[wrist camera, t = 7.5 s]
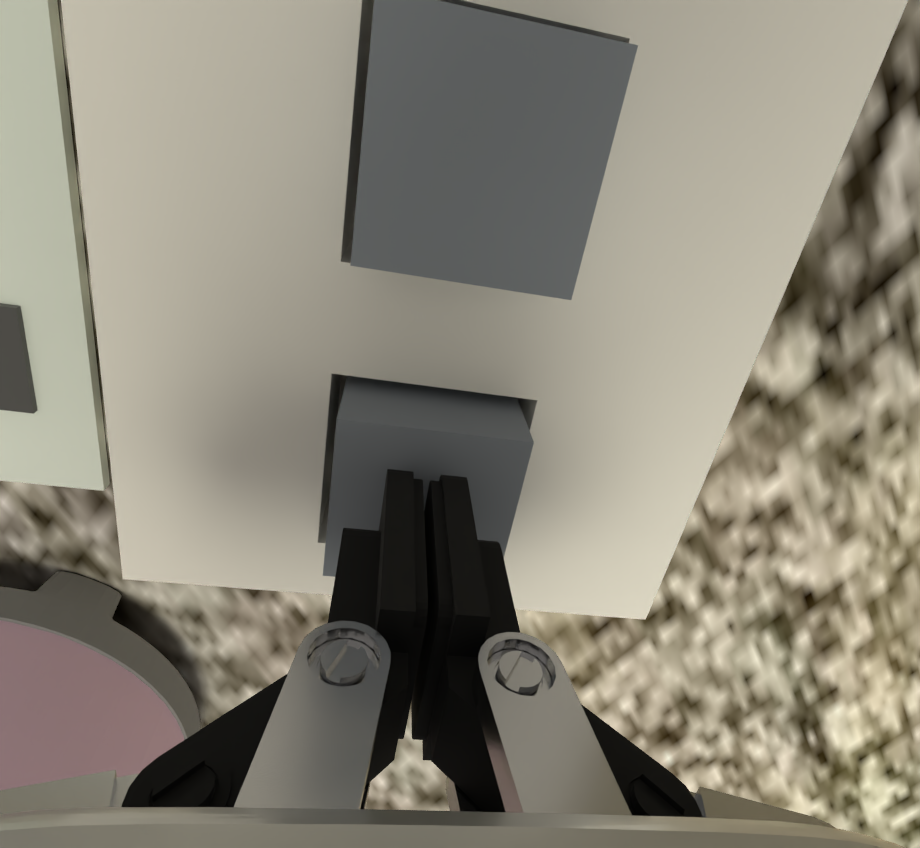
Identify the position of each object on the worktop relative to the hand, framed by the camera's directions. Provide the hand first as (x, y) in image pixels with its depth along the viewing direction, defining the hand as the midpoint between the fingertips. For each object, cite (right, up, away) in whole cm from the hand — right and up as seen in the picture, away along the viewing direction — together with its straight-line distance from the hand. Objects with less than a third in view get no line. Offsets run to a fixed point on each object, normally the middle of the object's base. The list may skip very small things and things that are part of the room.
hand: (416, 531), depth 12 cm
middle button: (+1, +8, 0) cm, 8 cm away
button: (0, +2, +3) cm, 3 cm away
